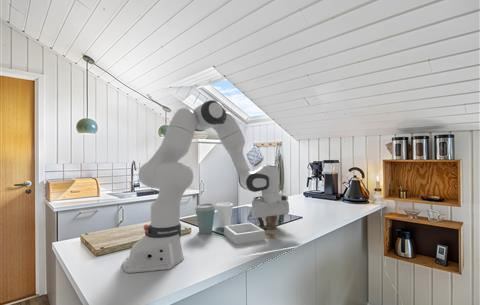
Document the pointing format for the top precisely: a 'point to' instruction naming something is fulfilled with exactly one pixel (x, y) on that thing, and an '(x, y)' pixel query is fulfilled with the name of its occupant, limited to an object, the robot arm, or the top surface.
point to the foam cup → (224, 214)
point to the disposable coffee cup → (205, 217)
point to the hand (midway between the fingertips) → (270, 224)
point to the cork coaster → (271, 236)
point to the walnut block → (271, 223)
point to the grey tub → (244, 233)
